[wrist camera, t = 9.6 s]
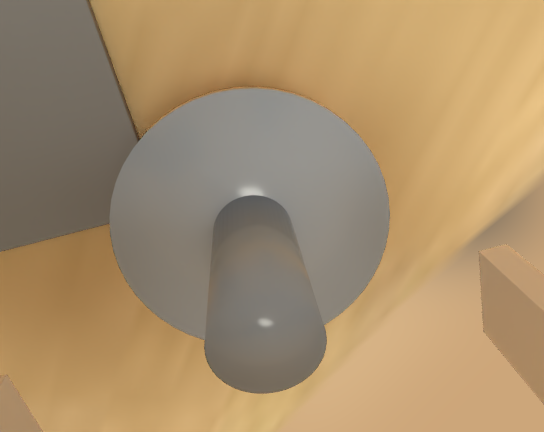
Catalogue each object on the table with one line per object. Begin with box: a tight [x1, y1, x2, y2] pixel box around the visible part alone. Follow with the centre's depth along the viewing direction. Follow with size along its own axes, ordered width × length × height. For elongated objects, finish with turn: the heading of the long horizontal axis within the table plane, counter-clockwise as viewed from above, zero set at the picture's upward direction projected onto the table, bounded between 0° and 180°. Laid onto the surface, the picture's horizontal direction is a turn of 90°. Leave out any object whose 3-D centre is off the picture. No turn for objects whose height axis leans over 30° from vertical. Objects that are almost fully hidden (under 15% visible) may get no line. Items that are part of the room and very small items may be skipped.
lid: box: [109, 86, 390, 393], centre depth 18 cm, size 13×13×9 cm
